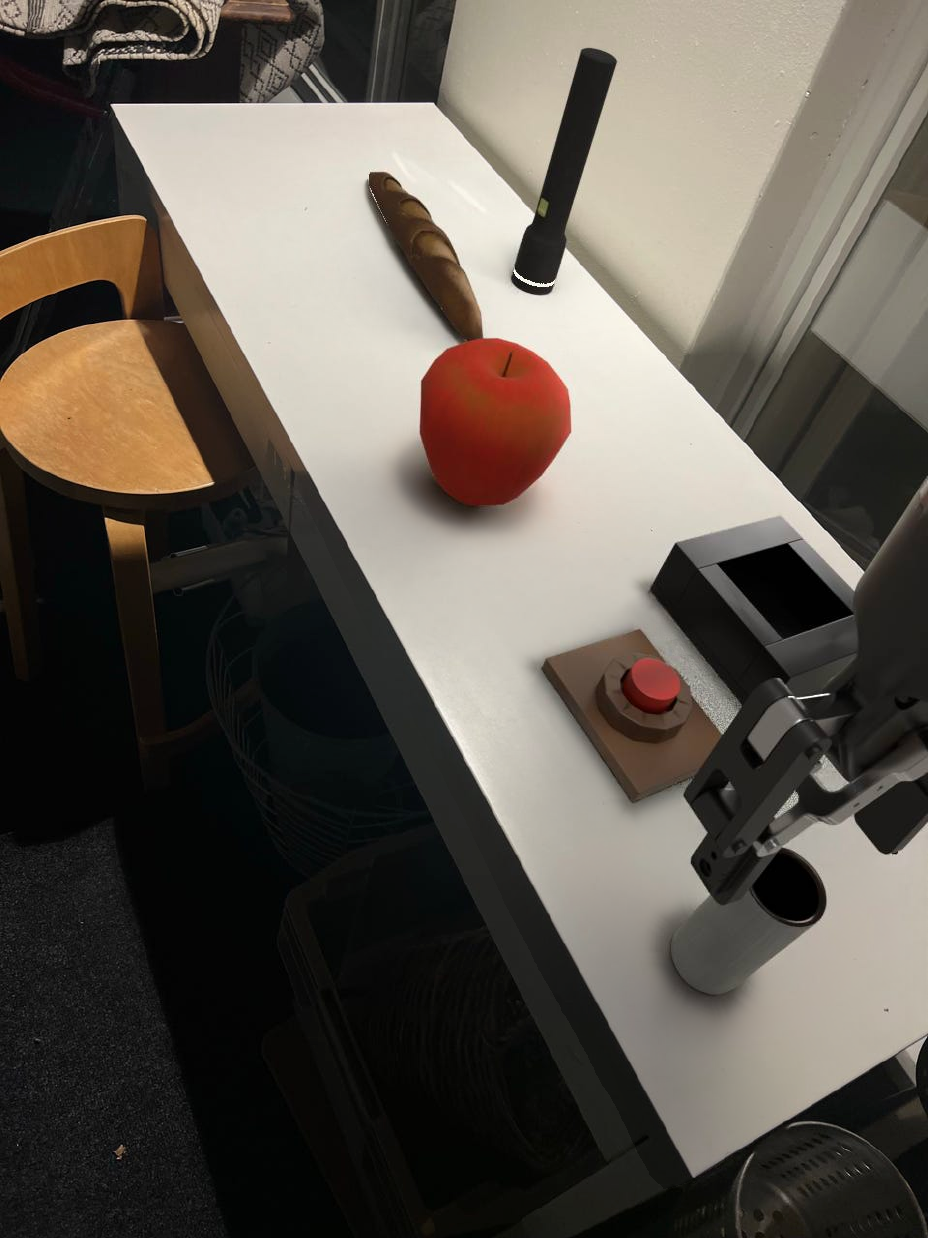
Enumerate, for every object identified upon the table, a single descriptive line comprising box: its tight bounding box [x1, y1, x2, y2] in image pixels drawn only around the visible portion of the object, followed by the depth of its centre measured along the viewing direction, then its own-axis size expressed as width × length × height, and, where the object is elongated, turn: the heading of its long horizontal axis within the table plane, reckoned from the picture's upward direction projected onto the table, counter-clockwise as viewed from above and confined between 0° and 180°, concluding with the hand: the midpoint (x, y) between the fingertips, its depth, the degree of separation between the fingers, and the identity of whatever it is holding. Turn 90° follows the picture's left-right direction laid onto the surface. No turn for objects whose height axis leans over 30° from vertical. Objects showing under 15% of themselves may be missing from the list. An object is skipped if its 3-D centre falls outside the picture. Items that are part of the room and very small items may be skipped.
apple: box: [419, 337, 572, 508], centre depth 73 cm, size 12×12×14 cm
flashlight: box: [510, 47, 618, 296], centre depth 96 cm, size 5×24×5 cm
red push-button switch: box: [541, 628, 723, 803], centre depth 65 cm, size 12×9×3 cm
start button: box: [623, 658, 680, 714], centre depth 63 cm, size 4×4×2 cm
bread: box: [368, 171, 484, 342], centre depth 100 cm, size 38×5×5 cm, turn 21°
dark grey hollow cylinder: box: [670, 846, 828, 996], centre depth 51 cm, size 4×4×10 cm
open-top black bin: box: [649, 514, 858, 705], centre depth 72 cm, size 14×12×6 cm
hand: (797, 857), depth 36 cm, fingers open, 8 cm apart
